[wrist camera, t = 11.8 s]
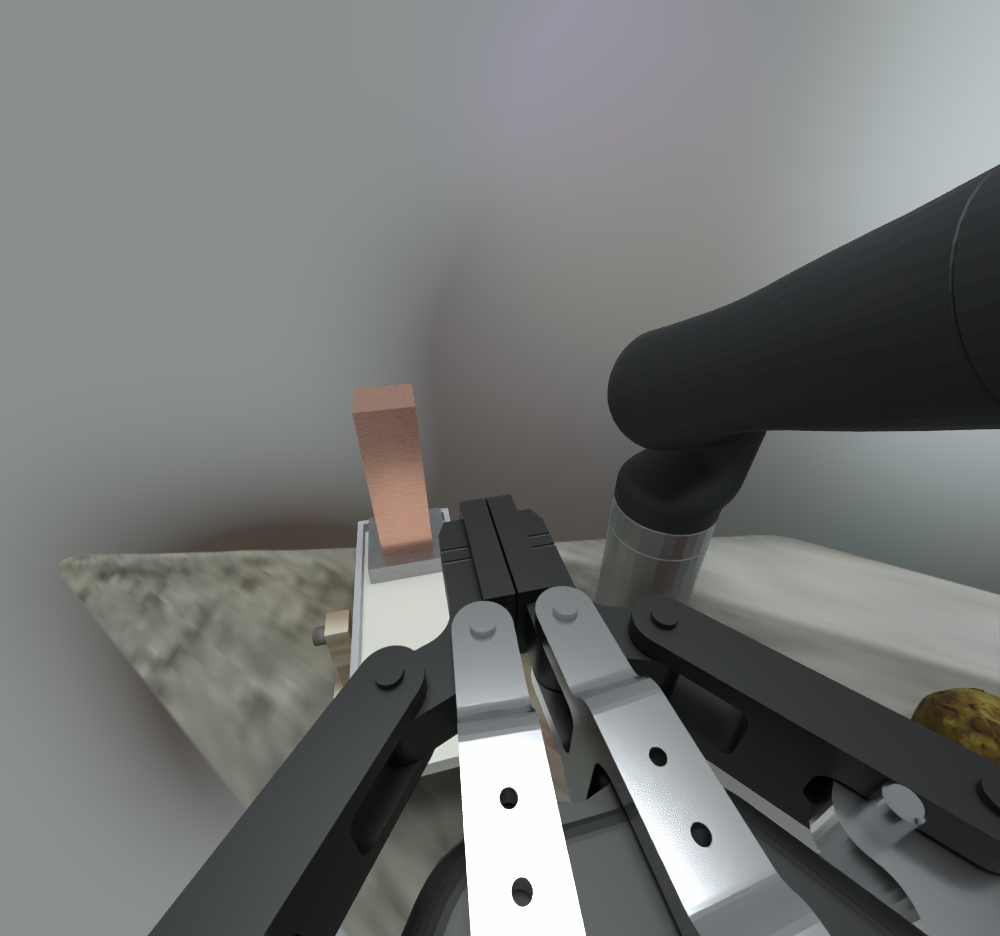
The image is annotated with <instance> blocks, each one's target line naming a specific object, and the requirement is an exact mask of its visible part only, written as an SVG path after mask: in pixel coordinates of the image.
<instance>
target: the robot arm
mask: <svg viewBox="0 0 1000 936" xmlns="http://www.w3.org/2000/svg"><path fill="white" fill-rule="evenodd" d="M608 404H609V409H610V413H611V415H612V417H613V420H614V422H615V423H616V425H617V426H618V428H619V429H620V430H621V432H622V433H623V434H624V435H625V436H626V437H627V438H629V439H630V440H632V441H633V442H634V443H636V444H638V445H640V446H642V447H644V448H646V449H645V450H643V451H641V452H639V453H637V454H636V455H634V456H633V457H631V458H630V459H628V460H627V461H626V462H625V463H624V464H623V466H622V467H621V469H620V471H619V473H618V477H617V481H616V487H615V493H614V499H613V505H612V510H611V516H610V522H609V527H608V533H607V538H606V544H605V549H604V555H603V561H602V566H601V572H600V577H599V583H598V588H597V593H596V599H595V602H592V601H591V600H590V598H589V597H588V596H587V595H586V594H584V593H583V592H581V591H579V590H578V589H576V587H575V586H574V584H573V582H572V580H571V578H570V575H569V573H568V571H567V569H566V567H565V565H564V563H563V561H562V559H561V557H560V555H559V552H558V550H557V548H556V546H554V542H553V540H552V538H551V536H550V535H549V532H548V530H547V527H546V525H545V523H544V521H543V519H542V518H541V517H539V516H538V515H537V514H536V513H535V512H533V511H532V510H531V509H527V510H520V511H517V509H516V506H515V504H514V501H513V499H512V496H511V495H502V496H495V497H488V498H485V499H484V498H482V499H476V500H469V501H462V502H459V514H460V520H456V521H449V522H444V523H443V525H442V528H441V530H440V533H439V535H438V538H439V547H440V555H441V564H442V573H443V579H444V585H445V592H446V598H447V604H448V611H449V617H450V618H449V621H448V624H447V626H446V628H445V629H444V630H443V632H442V633H441V634H440V635H439V636H438V637H437V638H435V639H434V640H433V641H431V642H429V643H428V644H426V645H424V646H422V647H420V648H418V649H417V650H415V651H414V650H412V649H411V648H408V647H405V646H400V645H393V646H387V647H384V648H381V649H379V650H377V651H375V652H374V653H372V654H371V655H370V656H368V657H367V658H366V659H365V660H364V661H363V662H362V664H361V665H360V666H359V668H358V669H357V670H356V671H355V673H354V674H353V675H352V676H351V678H350V679H349V680H348V682H347V683H346V684H345V685H344V687H343V688H342V689H341V690H340V692H339V693H338V694H337V696H336V697H335V698H334V699H333V701H332V702H331V703H330V704H329V706H328V707H327V708H326V710H325V711H324V712H323V713H322V715H321V716H320V717H319V718H318V720H317V721H316V722H315V724H314V725H313V726H312V727H311V729H310V730H309V731H308V732H307V734H306V735H305V736H304V738H303V739H302V740H301V741H300V743H299V744H298V745H297V746H296V748H295V749H294V750H293V752H292V753H291V754H290V755H289V757H288V758H287V759H286V760H285V762H284V763H283V764H282V766H281V767H280V768H279V769H278V771H277V772H276V773H275V774H274V776H273V777H272V778H271V780H270V781H269V782H268V783H267V785H266V786H265V787H264V788H263V790H262V791H261V792H260V794H259V795H258V796H257V797H256V799H255V800H254V801H253V802H252V804H251V805H250V806H249V808H248V809H247V810H246V811H245V813H244V814H243V815H242V816H241V818H240V819H239V820H238V822H237V823H236V824H235V826H234V827H233V828H232V829H231V831H230V832H229V833H228V834H227V836H226V837H225V838H224V839H223V841H222V842H221V843H220V845H219V846H218V847H217V848H216V850H215V851H214V852H213V853H212V855H211V856H210V857H209V858H208V860H207V861H206V862H205V864H204V865H203V866H202V867H201V869H200V870H199V871H198V873H197V874H196V875H195V876H194V878H193V879H192V880H191V882H190V883H189V884H188V885H187V886H186V888H185V889H184V890H183V892H182V893H181V894H180V895H179V897H178V898H177V899H176V900H175V902H174V903H173V904H172V906H171V907H170V908H169V909H168V911H167V912H166V913H165V915H164V916H163V917H162V918H161V920H160V921H159V922H158V923H157V925H156V926H155V927H154V928H153V930H152V931H151V932H150V934H149V935H148V936H335V935H336V933H337V931H338V929H339V928H340V926H341V924H342V922H343V920H344V918H345V916H346V915H347V913H348V911H349V909H350V907H351V905H352V903H353V902H354V900H355V898H356V896H357V894H358V892H359V890H360V889H361V887H362V885H363V883H364V881H365V879H366V877H367V876H368V874H369V872H370V870H371V868H372V866H373V865H374V863H375V861H376V859H377V857H378V855H379V853H380V852H381V850H382V848H383V846H384V844H385V842H386V840H387V839H388V837H389V835H390V833H391V831H392V829H393V827H394V826H395V824H396V822H397V820H398V818H399V816H400V814H401V813H402V811H403V809H404V807H405V805H406V803H407V801H408V800H409V798H410V796H411V794H412V792H413V790H414V788H415V787H416V785H417V783H418V781H419V779H420V777H421V775H422V774H423V772H424V770H425V768H426V766H427V764H428V763H429V761H430V759H431V757H432V755H433V753H434V750H435V749H436V748H437V747H439V746H440V745H442V744H443V743H445V742H446V741H448V740H449V739H451V738H452V737H454V736H455V735H457V734H458V745H459V760H460V775H461V790H462V805H463V820H464V835H465V836H464V837H463V838H462V839H460V840H459V841H458V842H457V843H456V844H455V845H454V846H453V847H451V848H450V849H449V851H448V852H447V853H446V854H445V855H444V856H443V857H442V858H441V860H440V861H439V862H438V864H437V865H436V866H435V868H434V869H433V871H432V872H431V874H430V875H429V877H428V878H427V880H426V882H425V884H424V886H423V887H422V889H421V891H420V893H419V895H418V897H417V899H416V902H415V904H414V906H413V909H412V911H411V913H410V916H409V918H408V920H407V923H406V925H405V928H404V930H403V932H402V935H401V936H1000V765H998V764H996V763H994V762H992V761H990V760H988V759H986V758H984V757H982V756H980V755H979V754H977V753H975V752H973V751H971V750H969V749H967V748H965V747H963V746H961V745H959V744H957V743H955V742H953V741H951V740H949V739H947V738H945V737H943V736H941V735H939V734H937V733H935V732H933V731H931V730H930V729H928V728H926V727H924V726H922V725H920V724H918V723H916V722H914V721H912V720H910V719H908V718H906V717H904V716H902V715H900V714H898V713H896V712H894V711H892V710H890V709H888V708H886V707H884V706H882V705H881V704H879V703H877V702H875V701H873V700H871V699H869V698H867V697H865V696H863V695H861V694H859V693H857V692H855V691H853V690H851V689H849V688H847V687H845V686H843V685H841V684H839V683H837V682H835V681H833V680H832V679H830V678H828V677H826V676H824V675H822V674H820V673H818V672H816V671H814V670H812V669H810V668H808V667H806V666H804V665H802V664H800V663H798V662H796V661H794V660H792V659H790V658H788V657H786V656H784V655H783V654H781V653H779V652H777V651H775V650H773V649H771V648H769V647H767V646H765V645H763V644H761V643H759V642H757V641H755V640H753V639H751V638H749V637H747V636H745V635H743V634H741V633H739V632H737V631H735V630H734V629H732V628H730V627H728V626H726V625H724V624H722V623H720V622H718V621H716V620H714V619H712V618H710V617H708V616H706V615H704V614H702V613H700V612H698V611H696V610H694V609H692V608H690V607H688V606H687V604H688V601H689V598H690V595H691V593H692V590H693V587H694V584H695V581H696V579H697V576H698V573H699V570H700V568H701V565H702V562H703V559H704V556H705V554H706V551H707V548H708V545H709V542H710V539H711V536H712V533H713V531H714V528H715V525H716V523H717V519H718V517H719V514H720V512H721V510H722V508H723V507H724V506H726V505H727V504H728V503H729V502H730V501H731V500H732V499H733V498H734V497H735V496H736V494H737V493H738V492H739V490H740V488H741V486H742V484H743V482H744V480H745V478H746V476H747V473H748V471H749V469H750V467H751V465H752V462H753V460H754V458H755V456H756V454H757V451H758V449H759V447H760V445H761V443H762V441H763V438H764V436H765V434H766V431H767V430H798V431H799V430H800V431H854V432H856V431H857V432H860V431H861V432H863V431H864V432H865V431H935V430H936V431H937V430H974V429H1000V165H998V166H996V167H994V168H992V169H990V170H988V171H986V172H985V173H983V174H981V175H979V176H977V177H975V178H973V179H971V180H969V181H968V182H966V183H964V184H962V185H960V186H958V187H956V188H955V189H953V190H951V191H949V192H947V193H945V194H943V195H942V196H940V197H938V198H936V199H934V200H932V201H930V202H928V203H927V204H925V205H923V206H921V207H919V208H917V209H915V210H913V211H912V212H910V213H908V214H906V215H904V216H902V217H900V218H897V219H895V220H893V221H891V222H889V223H887V224H885V225H883V226H881V227H879V228H877V229H875V230H873V231H871V232H869V233H867V234H865V235H863V236H861V237H859V238H857V239H855V240H853V241H851V242H849V243H847V244H845V245H843V246H841V247H839V248H837V249H835V250H833V251H831V252H829V253H827V254H825V255H823V256H822V257H820V258H818V259H816V260H814V261H812V262H810V263H808V264H806V265H805V266H803V267H801V268H799V269H797V270H795V271H793V272H791V273H790V274H788V275H786V276H784V277H782V278H780V279H778V280H777V281H775V282H773V283H771V284H769V285H767V286H766V287H764V288H762V289H760V290H758V291H756V292H754V293H752V294H750V295H748V296H746V297H744V298H742V299H740V300H738V301H735V302H733V303H731V304H729V305H726V306H723V307H721V308H718V309H716V310H713V311H710V312H707V313H704V314H702V315H699V316H696V317H693V318H690V319H687V320H684V321H681V322H678V323H675V324H672V325H669V326H666V327H662V328H659V329H655V330H652V331H649V332H647V333H644V334H642V335H640V336H639V337H637V338H636V339H634V340H633V341H632V342H631V343H630V344H629V345H628V346H627V347H626V348H625V349H624V350H623V351H622V353H621V354H620V356H619V357H618V359H617V361H616V363H615V365H614V367H613V369H612V372H611V375H610V378H609V383H608ZM527 652H528V656H529V659H530V662H531V665H532V672H531V679H532V683H533V686H534V689H535V691H536V694H537V697H538V699H539V702H540V704H541V707H542V709H543V712H544V715H545V717H546V720H547V722H548V725H549V728H550V730H551V733H552V735H553V738H554V741H555V743H556V746H557V748H558V751H559V754H560V756H561V759H562V763H563V767H564V772H565V779H566V784H567V788H568V791H569V795H570V798H571V801H572V802H556V797H555V793H554V788H553V784H552V779H551V774H550V770H549V765H548V761H547V756H546V752H545V747H544V742H543V738H542V733H541V729H540V724H539V720H538V717H537V714H536V711H535V709H534V708H532V706H531V703H530V699H529V695H528V690H527V685H526V680H525V676H524V671H523V666H522V661H521V656H520V654H522V653H527ZM705 759H707V760H708V761H710V762H711V763H713V764H714V765H716V766H717V767H719V768H720V769H722V770H723V771H725V772H726V773H728V774H729V775H730V776H732V777H733V778H735V779H737V780H738V781H739V782H741V783H742V784H744V785H745V786H747V787H748V788H750V789H751V790H752V791H754V792H755V793H757V794H758V795H760V796H761V797H763V798H764V799H766V800H767V801H769V802H770V803H772V804H773V805H775V806H776V807H777V808H779V809H780V810H782V811H783V812H785V813H786V814H788V815H789V816H791V817H792V818H794V819H795V820H797V821H798V822H800V823H801V824H803V825H804V826H805V827H807V828H808V829H810V830H811V833H812V836H813V839H814V841H815V843H816V845H817V851H818V854H817V853H815V852H814V851H813V850H811V849H810V848H808V847H807V846H806V845H804V844H803V843H802V842H800V841H799V840H798V839H796V838H795V837H794V836H792V835H791V834H789V833H788V832H787V831H785V830H784V829H783V828H781V827H780V826H778V825H777V824H776V823H774V822H773V821H772V820H770V819H769V818H768V817H766V816H765V815H764V814H762V813H761V812H759V811H758V810H757V809H755V808H754V807H753V806H751V805H750V804H749V803H747V802H746V801H744V800H743V799H742V798H740V797H739V796H737V795H736V794H734V793H732V792H731V791H729V790H727V789H725V788H724V787H722V785H721V783H720V782H719V780H718V779H717V777H716V775H715V774H714V772H713V771H712V769H711V768H710V766H709V764H708V763H707V761H706V760H705Z"/></svg>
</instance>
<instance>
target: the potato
mask: <svg viewBox="0 0 1000 936" xmlns="http://www.w3.org/2000/svg"><path fill="white" fill-rule="evenodd" d="M911 720H912V721H914V722H916V723H918V724H920V725H922V726H924V727H926V728H928V729H930V730H931V731H933V732H935V733H937V734H939V735H941V736H943V737H945V738H947V739H949V740H951V741H953V742H955V743H957V744H959V745H961V746H963V747H965V748H967V749H969V750H971V751H973V752H975V753H977V754H979V755H980V756H982V757H984V758H986V759H988V760H990V761H992V762H994V763H996V764H998V765H1000V697H998V696H995V695H992V694H989V693H986V692H984V691H983V690H979V689H975V688H955V689H949V690H945V691H939V692H935V693H932V694H930V695H928V696H926V697H925V698H923V699H922V701H921V702H920V703H919V705H918V707H917V708H916V710H915V711H914V713H913V716H912V719H911Z"/></svg>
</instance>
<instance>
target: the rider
mask: <svg viewBox="0 0 1000 936" xmlns="http://www.w3.org/2000/svg"><path fill="white" fill-rule="evenodd" d="M352 414H353V418H354V424H355V428H356V433H357V437H358V442H359V447H360V451H361V456H362V460H363V465H364V470H365V474H366V479H367V484H368V488H369V493H370V497H371V502H372V507H373V511H374V516H375V517H373V518H369V532H368V574H369V578H370V582H371V584H376V583H382V582H388V581H393V580H399V579H404V578H410V577H416V576H421V575H427V574H432V573H438V572H442V564H441V555H440V547H439V538H438V535H439V533H440V530H441V528H442V525H443V519H442V514H441V509H440V508H433V509H428V503H427V495H426V487H425V479H424V471H423V464H422V456H421V448H420V439H419V431H418V423H417V415H416V407H415V402H414V396H413V390H412V384H411V383H409V384H398V385H387V386H377V387H366V388H356V389H355V391H354V401H353V411H352Z"/></svg>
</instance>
